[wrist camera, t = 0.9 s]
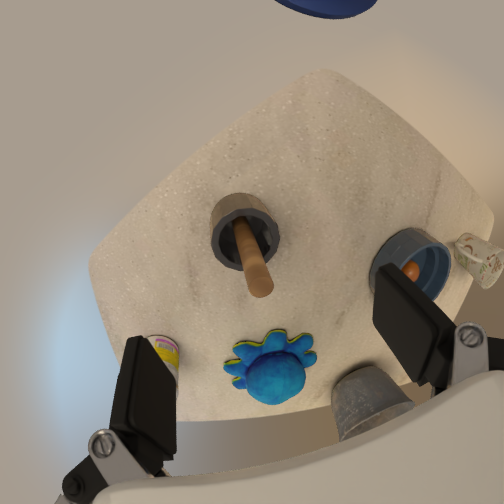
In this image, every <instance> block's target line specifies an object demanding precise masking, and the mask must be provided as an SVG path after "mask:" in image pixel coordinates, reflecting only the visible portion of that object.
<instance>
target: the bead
mask: <svg viewBox="0 0 504 504" xmlns="http://www.w3.org/2000/svg"><path fill="white" fill-rule="evenodd" d="M401 271H402V272H403V273H405V274H406V275H407V276H408V277H409V278H410V279H411V280H412V281H413V282H415V281H416V280H417V278H418V277H419V272H420V271H419V267H418V265H417V263H416V262H414V261H413V260H409V261H408V262H407V263H406V264H405V265H404V266H403V267H402V269H401Z"/></svg>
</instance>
